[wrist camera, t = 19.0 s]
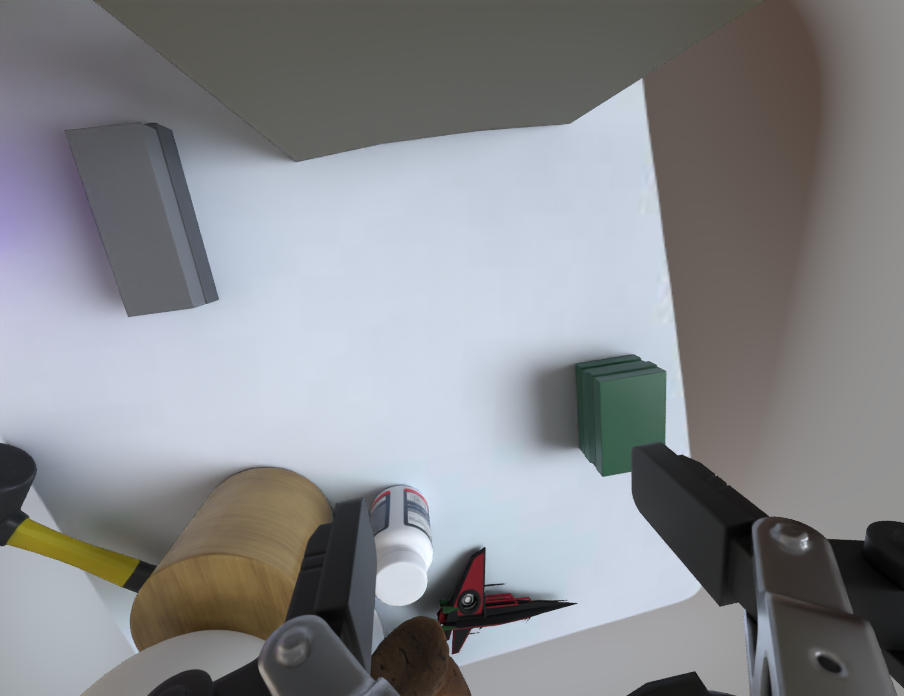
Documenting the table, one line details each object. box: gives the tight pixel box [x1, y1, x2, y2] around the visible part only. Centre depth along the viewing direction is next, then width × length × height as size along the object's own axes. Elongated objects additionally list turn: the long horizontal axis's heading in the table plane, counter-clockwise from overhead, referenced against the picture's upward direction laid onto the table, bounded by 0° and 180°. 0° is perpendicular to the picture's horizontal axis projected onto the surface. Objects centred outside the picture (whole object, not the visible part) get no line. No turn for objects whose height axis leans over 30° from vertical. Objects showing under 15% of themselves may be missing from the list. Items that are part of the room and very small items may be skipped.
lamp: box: [80, 467, 333, 696], centre depth 26 cm, size 15×14×25 cm
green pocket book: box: [593, 367, 666, 477], centre depth 35 cm, size 8×6×1 cm, turn 7°
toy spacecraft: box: [437, 547, 578, 654], centre depth 41 cm, size 4×15×10 cm
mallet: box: [0, 443, 157, 593], centre depth 35 cm, size 29×6×10 cm
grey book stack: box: [65, 123, 219, 317], centre depth 29 cm, size 12×5×4 cm, turn 7°
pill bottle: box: [370, 486, 433, 606], centre depth 35 cm, size 5×5×9 cm
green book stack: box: [576, 355, 657, 467], centre depth 37 cm, size 9×6×4 cm, turn 7°
